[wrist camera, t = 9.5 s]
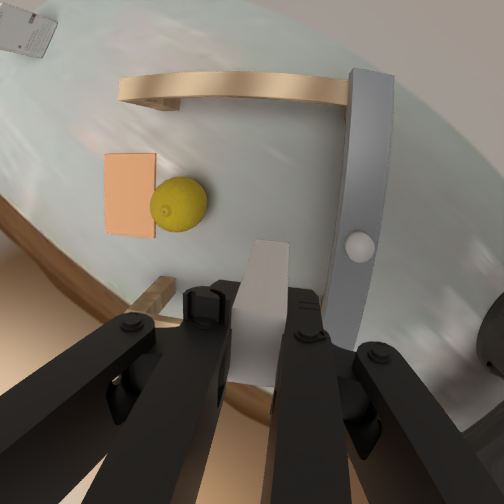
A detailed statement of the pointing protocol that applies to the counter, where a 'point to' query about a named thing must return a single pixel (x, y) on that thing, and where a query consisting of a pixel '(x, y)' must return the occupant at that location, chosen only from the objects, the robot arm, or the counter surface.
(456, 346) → the counter surface
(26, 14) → the skincare box
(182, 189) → the lemon
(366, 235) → the bar
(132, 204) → the pad
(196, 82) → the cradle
